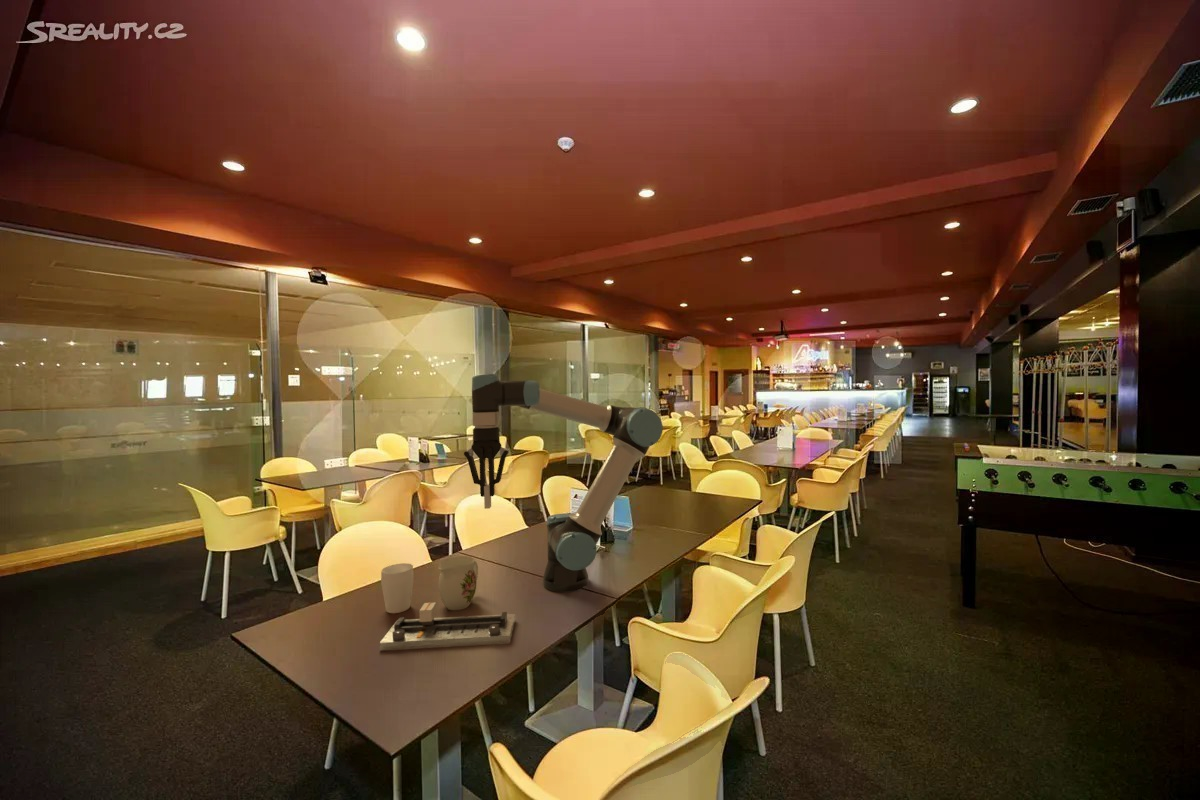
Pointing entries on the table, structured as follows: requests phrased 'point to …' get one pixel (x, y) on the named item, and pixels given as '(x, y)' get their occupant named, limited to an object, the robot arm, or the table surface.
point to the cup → (397, 587)
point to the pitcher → (457, 581)
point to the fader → (428, 613)
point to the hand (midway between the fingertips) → (487, 507)
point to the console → (449, 632)
